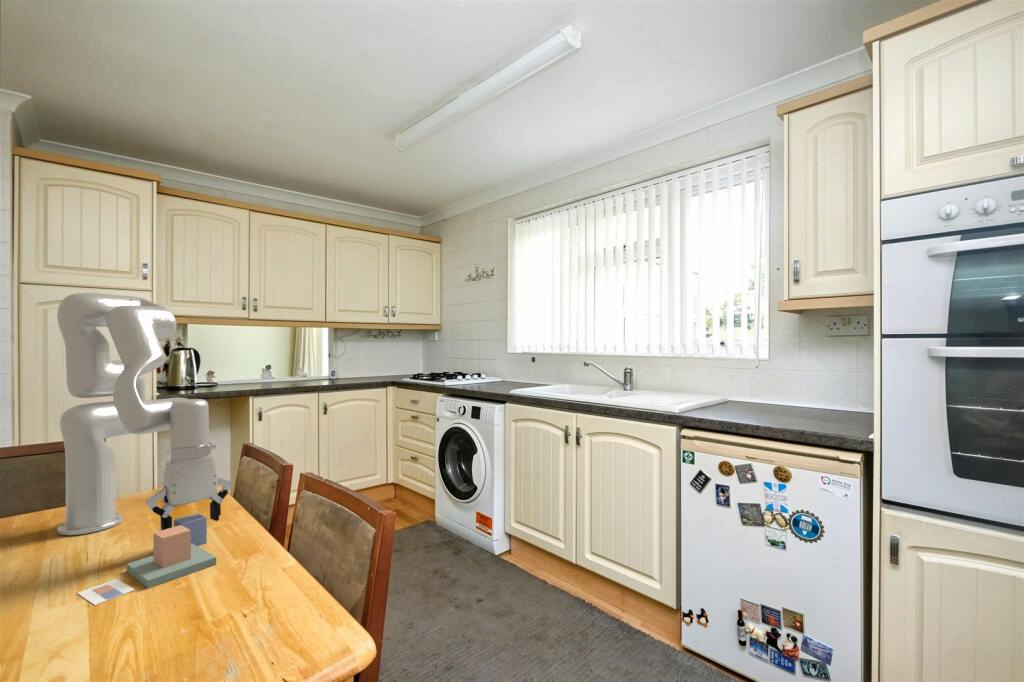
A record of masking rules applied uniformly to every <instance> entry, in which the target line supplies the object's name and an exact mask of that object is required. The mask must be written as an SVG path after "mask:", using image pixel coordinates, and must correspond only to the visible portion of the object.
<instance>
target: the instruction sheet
mask: <svg viewBox="0 0 1024 682" xmlns="http://www.w3.org/2000/svg"><path fill="white" fill-rule="evenodd" d="M134 591H135V588H133V587H131V586H129V585H128V584H127V583H124V582H123V581H121V580H119V579H117V578H115V579H113V580H110V581H107V582H104V583H101V584H98V585H95V586H93V587H90V588H87V589H85V590H82V591H78V592H77V595H79V596H80V597H82V598H83V599H85V600H86V601H88V602H90V603H91V604H92V605H94V606H97V605H100V604H101V603H105V602H107V601H109V600H112V599H115V598H118V597H121V596H123V595H125V594H128V593H131V592H134Z"/></svg>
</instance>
